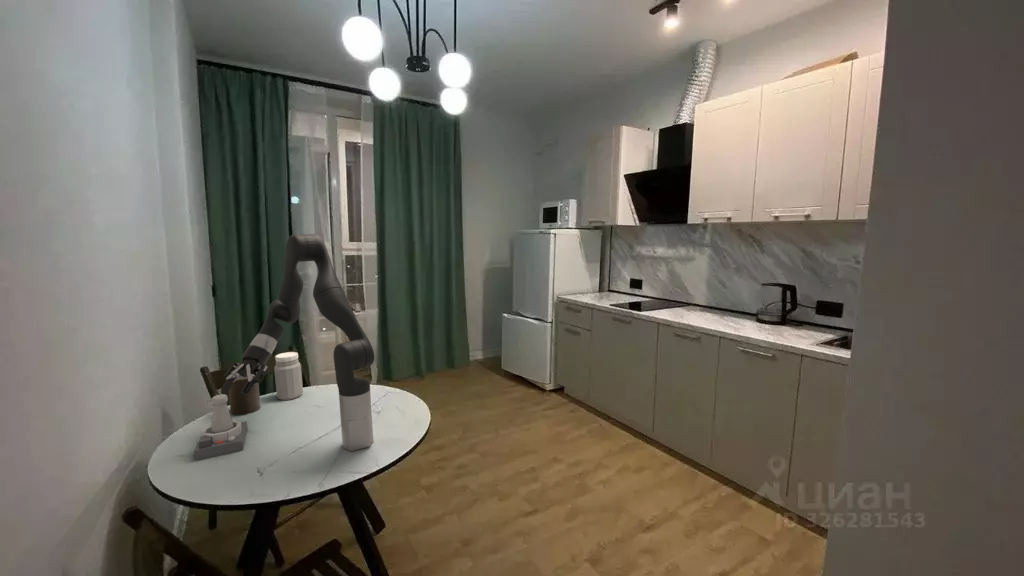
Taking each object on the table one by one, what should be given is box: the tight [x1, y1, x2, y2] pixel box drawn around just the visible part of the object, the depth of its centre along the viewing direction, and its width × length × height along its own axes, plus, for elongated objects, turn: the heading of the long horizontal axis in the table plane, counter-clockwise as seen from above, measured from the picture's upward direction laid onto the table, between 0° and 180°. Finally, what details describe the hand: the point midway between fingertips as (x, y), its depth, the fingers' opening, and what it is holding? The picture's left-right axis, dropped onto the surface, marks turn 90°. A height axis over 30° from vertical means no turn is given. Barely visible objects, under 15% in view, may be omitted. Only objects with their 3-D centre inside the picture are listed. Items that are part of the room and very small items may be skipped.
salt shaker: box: [210, 393, 233, 434], centre depth 130 cm, size 6×6×13 cm
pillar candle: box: [228, 376, 261, 416], centre depth 156 cm, size 10×10×15 cm
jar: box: [273, 351, 304, 401], centre depth 169 cm, size 10×10×18 cm
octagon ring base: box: [193, 419, 249, 461], centre depth 131 cm, size 16×12×6 cm
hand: (233, 392), depth 134 cm, fingers open, 8 cm apart
